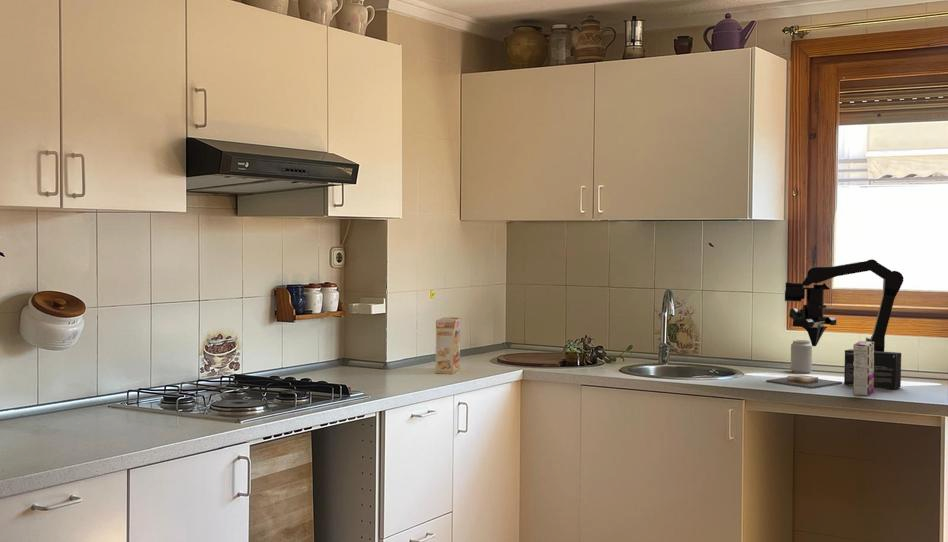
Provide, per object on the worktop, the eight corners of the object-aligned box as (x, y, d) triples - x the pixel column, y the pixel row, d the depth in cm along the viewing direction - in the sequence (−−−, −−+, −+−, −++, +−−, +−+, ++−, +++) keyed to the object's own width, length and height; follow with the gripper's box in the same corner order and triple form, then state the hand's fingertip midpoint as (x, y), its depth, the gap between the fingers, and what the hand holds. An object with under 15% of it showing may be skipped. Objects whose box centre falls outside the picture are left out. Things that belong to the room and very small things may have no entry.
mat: (842, 383, 323) (842, 382, 323) (812, 388, 312) (812, 386, 312) (796, 377, 337) (796, 375, 337) (766, 381, 326) (766, 380, 326)
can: (793, 370, 356) (794, 338, 356) (813, 371, 352) (814, 340, 352) (788, 372, 350) (788, 340, 350) (808, 374, 346) (809, 341, 345)
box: (901, 387, 315) (902, 352, 315) (895, 389, 310) (896, 354, 310) (849, 382, 326) (850, 348, 325) (843, 384, 321) (844, 349, 320)
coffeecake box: (453, 374, 339) (454, 320, 338) (434, 373, 340) (434, 320, 339) (461, 368, 354) (461, 317, 353) (442, 368, 355) (442, 316, 354)
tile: (818, 377, 321) (808, 378, 317) (818, 382, 321) (808, 384, 318) (797, 374, 327) (787, 375, 324) (797, 379, 328) (787, 381, 324)
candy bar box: (857, 390, 309) (858, 340, 308) (874, 391, 306) (875, 341, 306) (851, 394, 299) (852, 343, 299) (868, 396, 297) (869, 344, 296)
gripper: (809, 300, 343) (808, 342, 343) (779, 301, 331) (778, 345, 332) (837, 301, 334) (836, 345, 334) (807, 303, 322) (806, 348, 323)
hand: (814, 346), depth 331 cm, fingers closed
